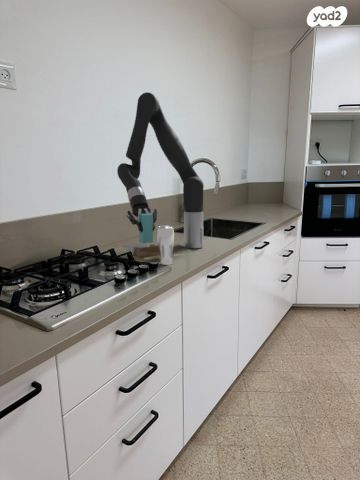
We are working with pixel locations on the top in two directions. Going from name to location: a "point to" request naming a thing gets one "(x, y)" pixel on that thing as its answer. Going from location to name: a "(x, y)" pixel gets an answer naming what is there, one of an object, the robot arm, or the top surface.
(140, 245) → the pad
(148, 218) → the teal block
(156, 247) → the walnut bracket
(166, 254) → the beer glass
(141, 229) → the robot arm
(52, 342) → the top surface
